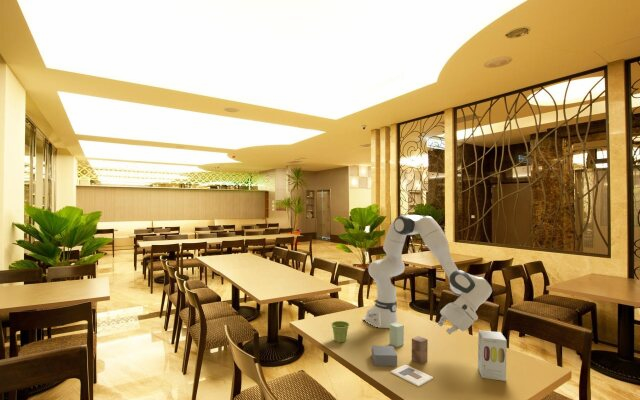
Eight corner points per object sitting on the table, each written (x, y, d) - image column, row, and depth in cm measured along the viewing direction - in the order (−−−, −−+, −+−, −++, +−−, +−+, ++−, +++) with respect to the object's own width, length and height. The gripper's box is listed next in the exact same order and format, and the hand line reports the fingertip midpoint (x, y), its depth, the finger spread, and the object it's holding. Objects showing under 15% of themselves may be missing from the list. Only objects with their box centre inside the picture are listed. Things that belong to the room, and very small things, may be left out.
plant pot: (340, 346, 169) (340, 328, 169) (327, 340, 176) (327, 323, 176) (352, 341, 175) (352, 324, 175) (340, 335, 182) (340, 319, 182)
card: (390, 372, 142) (390, 370, 142) (405, 365, 149) (405, 363, 149) (418, 386, 131) (418, 384, 131) (433, 378, 138) (433, 376, 138)
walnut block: (411, 360, 154) (411, 338, 154) (418, 357, 157) (418, 335, 157) (420, 364, 150) (421, 342, 150) (427, 361, 153) (427, 339, 153)
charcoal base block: (371, 356, 158) (371, 345, 158) (392, 356, 158) (392, 345, 158) (374, 366, 148) (374, 355, 148) (397, 366, 148) (397, 355, 148)
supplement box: (481, 378, 138) (481, 337, 139) (477, 367, 147) (477, 329, 147) (507, 381, 136) (507, 339, 136) (501, 370, 145) (501, 331, 145)
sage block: (389, 343, 172) (389, 324, 172) (395, 341, 175) (395, 322, 175) (397, 347, 168) (397, 327, 168) (403, 344, 171) (403, 325, 171)
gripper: (449, 296, 165) (429, 316, 164) (470, 309, 145) (448, 332, 144) (458, 305, 165) (438, 325, 165) (480, 319, 145) (458, 342, 144)
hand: (443, 328), depth 154 cm, fingers open, 8 cm apart
